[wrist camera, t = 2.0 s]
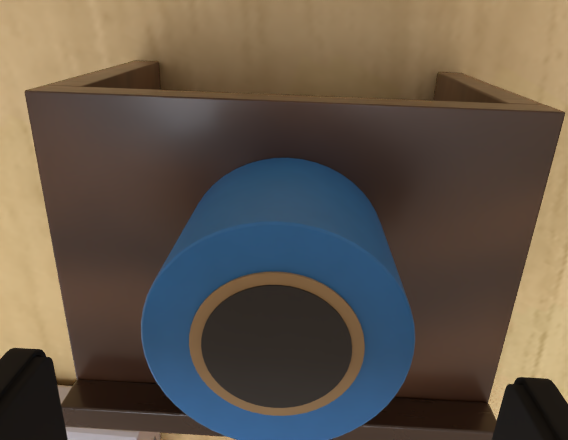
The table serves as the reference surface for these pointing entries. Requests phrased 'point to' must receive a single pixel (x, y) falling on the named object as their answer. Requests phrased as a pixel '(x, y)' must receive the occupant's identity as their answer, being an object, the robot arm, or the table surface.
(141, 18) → the table surface
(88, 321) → the desk shelf
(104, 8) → the table surface
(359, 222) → the tape roll
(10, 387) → the robot arm
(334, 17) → the table surface
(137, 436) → the charger
